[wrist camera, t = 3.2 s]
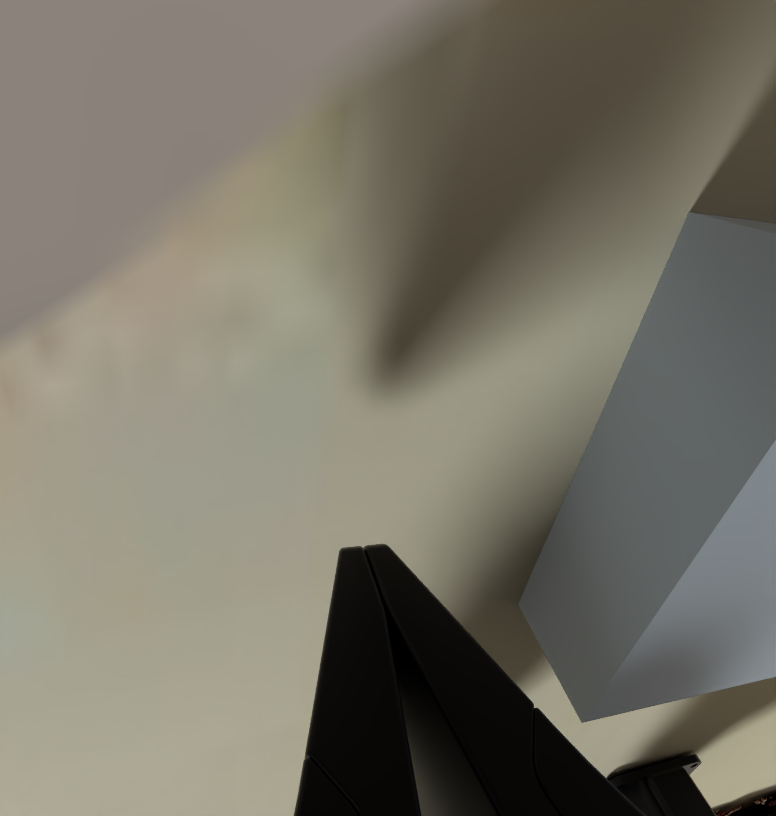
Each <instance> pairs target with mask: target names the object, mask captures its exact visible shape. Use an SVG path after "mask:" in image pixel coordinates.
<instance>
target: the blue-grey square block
mask: <svg viewBox="0 0 776 816" xmlns="http://www.w3.org/2000/svg"><path fill="white" fill-rule="evenodd" d="M518 606H519V607H520V609H521V611H522V613H523V615H524V617H525V618H526V620H527V622H528V624H529V626H530V628H531V630H532V631H533V633H534V635H535V637H536V639H537V641H538V643H539V644H540V646H541V648H542V650H543V652H544V654H545V656H546V657H547V659H548V661H549V663H550V665H551V667H552V668H553V670H554V672H555V674H556V676H557V678H558V680H559V681H560V683H561V685H562V687H563V689H564V691H565V693H566V694H567V696H568V698H569V700H570V702H571V704H572V705H573V707H574V709H575V711H576V713H577V715H578V717H579V718H580V720H581V722H582V723H583V722H587V721H591V720H596V719H600V718H604V717H608V716H613V715H617V714H621V713H625V712H629V711H634V710H638V709H642V708H646V707H651V706H655V705H659V704H663V703H667V702H672V701H676V700H680V699H684V698H689V697H693V696H697V695H701V694H705V693H710V692H714V691H718V690H722V689H726V688H731V687H735V686H739V685H743V684H748V683H752V682H756V681H760V680H764V679H769V678H773V677H776V223H768V222H761V221H753V220H746V219H738V218H731V217H723V216H716V215H708V214H701V213H693V212H689V213H688V215H687V218H686V220H685V222H684V225H683V227H682V229H681V231H680V234H679V236H678V238H677V241H676V243H675V245H674V248H673V250H672V252H671V254H670V257H669V259H668V261H667V264H666V266H665V268H664V271H663V273H662V275H661V277H660V280H659V282H658V284H657V287H656V289H655V291H654V294H653V296H652V298H651V300H650V303H649V305H648V307H647V310H646V312H645V314H644V316H643V319H642V321H641V323H640V326H639V328H638V330H637V333H636V335H635V337H634V339H633V342H632V344H631V346H630V349H629V351H628V353H627V356H626V358H625V360H624V362H623V365H622V367H621V369H620V372H619V374H618V376H617V379H616V381H615V383H614V385H613V388H612V390H611V392H610V395H609V397H608V399H607V401H606V404H605V406H604V408H603V411H602V413H601V415H600V418H599V420H598V422H597V424H596V427H595V429H594V431H593V434H592V436H591V438H590V441H589V443H588V445H587V447H586V450H585V452H584V454H583V457H582V459H581V461H580V464H579V466H578V468H577V470H576V473H575V475H574V477H573V480H572V482H571V484H570V486H569V489H568V491H567V493H566V496H565V498H564V500H563V503H562V505H561V507H560V509H559V512H558V514H557V516H556V519H555V521H554V523H553V526H552V528H551V530H550V532H549V535H548V537H547V539H546V542H545V544H544V546H543V549H542V551H541V553H540V555H539V558H538V560H537V562H536V565H535V567H534V569H533V571H532V574H531V576H530V578H529V581H528V583H527V585H526V588H525V590H524V592H523V594H522V597H521V599H520V601H519V604H518Z"/></svg>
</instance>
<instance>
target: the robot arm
mask: <svg viewBox="0 0 776 816" xmlns="http://www.w3.org/2000/svg"><path fill="white" fill-rule="evenodd" d="M700 764H701V761H700V759H699V758H698V756H697V755H696V754H693V755H690V756H686V757H682V758H679V759H675V760H672V761H668V762H665V763H661V764H658V765H654V766H651V767H647V768H644V769H640V770H637V771H633V772H630V773H626V774H623V775H619V776H616V777H614V778H613V779H611V780H610V781H608V780H607V779H606V778H605V777H604V776H603V775H602V774H601V773H600V772H599V771H598V770H597V769H596V768H595V767H594V766H593V765H592V764H591V763H590V762H589V761H588V760H587V759H586V758H585V757H584V756H583V755H582V754H581V753H580V752H579V751H578V750H577V749H576V748H575V747H574V746H573V745H572V744H571V743H570V742H569V741H568V740H567V739H566V738H565V737H564V735H563V734H562V733H561V732H560V731H559V730H558V729H557V728H556V727H555V726H554V725H553V724H552V723H551V722H550V721H549V719H548V718H547V717H546V716H545V715H544V714H543V713H542V712H541V711H540V710H539V709H538V708H534V704H533V702H532V701H531V700H530V699H529V698H528V697H527V696H526V695H525V694H524V693H523V692H522V690H521V689H520V688H519V687H518V686H517V685H516V684H515V683H514V682H513V681H512V680H511V678H510V677H509V676H508V675H507V674H506V673H505V672H504V671H503V670H502V669H501V668H500V667H499V665H498V664H497V663H496V662H495V661H494V660H493V659H492V658H491V657H490V656H489V655H488V654H487V652H486V651H485V650H484V649H483V648H482V647H481V646H480V645H479V644H478V643H477V642H476V640H475V639H474V638H473V637H472V636H471V635H470V634H469V633H468V632H467V631H466V630H465V629H464V627H463V626H462V625H461V624H460V623H459V622H458V621H457V620H456V619H455V618H454V617H453V616H452V614H451V613H450V612H449V611H448V610H447V609H446V608H445V607H444V606H443V605H442V604H441V603H440V601H439V600H438V599H437V598H436V597H435V596H434V595H433V594H432V593H431V592H430V591H429V589H428V588H427V587H426V586H425V585H424V584H423V583H422V582H421V581H420V580H419V579H418V578H417V576H416V575H415V574H414V573H413V572H412V571H411V570H410V569H409V568H408V567H407V566H406V565H405V563H404V562H403V561H402V560H401V559H400V558H399V557H398V556H397V555H396V554H395V553H394V551H393V550H392V549H391V548H390V547H389V546H387V545H385V544H376V545H367V546H365V547H364V548H362V547H361V546H356V547H346V548H341V549H340V551H339V556H338V562H337V568H336V574H335V580H334V586H333V592H332V598H331V604H330V610H329V616H328V621H327V627H326V633H325V639H324V645H323V651H322V657H321V663H320V669H319V675H318V681H317V687H316V693H315V699H314V705H313V711H312V717H311V722H310V728H309V734H308V740H307V746H306V752H305V760H304V762H303V768H302V774H301V780H300V786H299V792H298V797H297V802H296V807H295V812H294V816H716V815H715V813H714V811H713V810H712V808H711V807H710V805H709V804H708V802H707V801H706V799H705V798H704V796H703V795H702V793H701V792H700V790H699V789H698V787H697V786H696V784H695V783H694V781H693V780H692V778H691V777H690V774H691V773H692V772H693V771H694V770H695V769H696V768H697V767H698V766H699V765H700Z"/></svg>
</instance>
